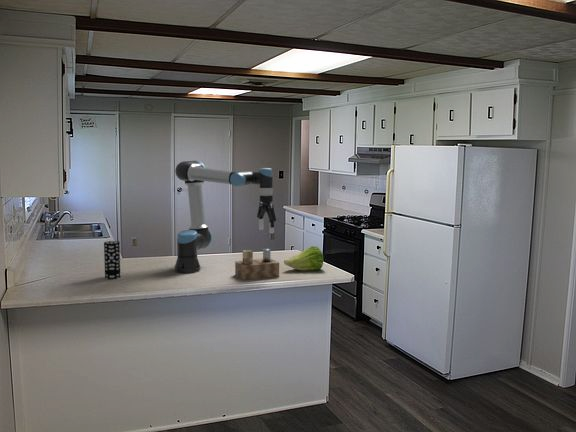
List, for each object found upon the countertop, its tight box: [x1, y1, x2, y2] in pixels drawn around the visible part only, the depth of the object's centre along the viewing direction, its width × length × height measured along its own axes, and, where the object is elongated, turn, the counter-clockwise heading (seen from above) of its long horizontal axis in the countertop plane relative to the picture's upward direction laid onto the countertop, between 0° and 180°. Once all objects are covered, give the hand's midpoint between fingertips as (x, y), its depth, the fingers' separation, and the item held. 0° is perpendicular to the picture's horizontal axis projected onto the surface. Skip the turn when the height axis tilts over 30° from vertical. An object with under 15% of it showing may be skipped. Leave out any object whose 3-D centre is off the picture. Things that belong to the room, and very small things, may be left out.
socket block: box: [234, 258, 280, 281], centre depth 310 cm, size 22×13×8 cm, turn 117°
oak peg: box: [242, 249, 254, 264], centre depth 306 cm, size 4×4×8 cm
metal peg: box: [262, 248, 272, 262], centre depth 312 cm, size 4×4×8 cm
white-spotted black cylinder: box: [103, 240, 122, 280], centre depth 299 cm, size 8×8×20 cm
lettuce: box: [283, 245, 324, 272], centre depth 325 cm, size 14×24×15 cm
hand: (266, 231), depth 311 cm, fingers open, 13 cm apart
